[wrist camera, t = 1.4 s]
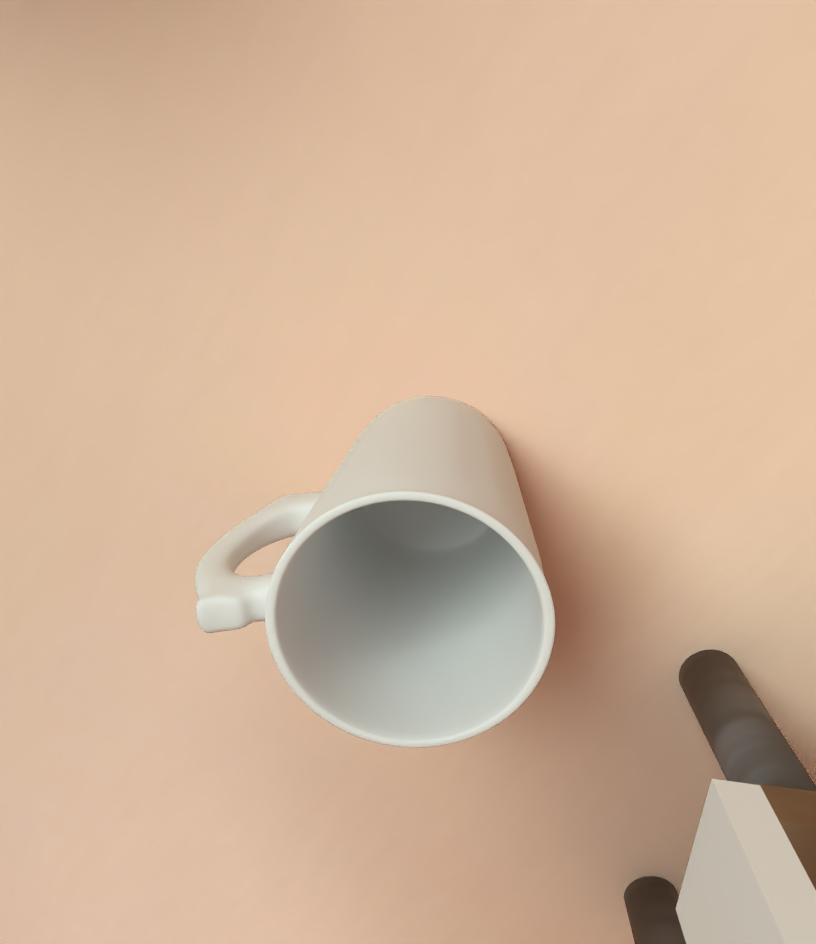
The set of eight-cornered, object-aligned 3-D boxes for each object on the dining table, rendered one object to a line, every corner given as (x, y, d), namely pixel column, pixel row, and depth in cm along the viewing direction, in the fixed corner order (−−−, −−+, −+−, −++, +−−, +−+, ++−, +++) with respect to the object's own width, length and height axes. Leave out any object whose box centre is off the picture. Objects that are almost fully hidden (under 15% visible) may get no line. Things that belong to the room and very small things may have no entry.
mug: (513, 380, 27) (549, 480, 16) (523, 546, 29) (561, 743, 18) (251, 403, 28) (104, 513, 17) (278, 562, 30) (163, 758, 19)
